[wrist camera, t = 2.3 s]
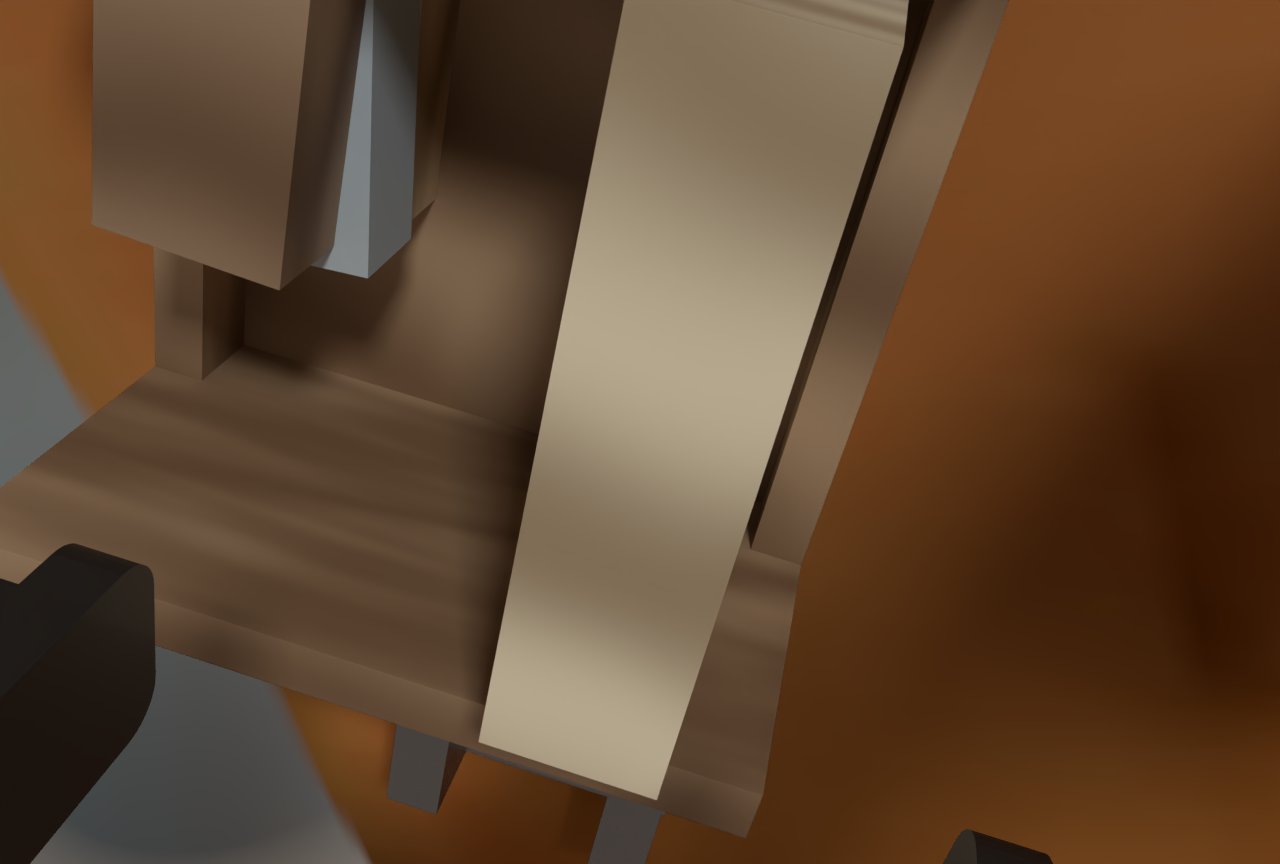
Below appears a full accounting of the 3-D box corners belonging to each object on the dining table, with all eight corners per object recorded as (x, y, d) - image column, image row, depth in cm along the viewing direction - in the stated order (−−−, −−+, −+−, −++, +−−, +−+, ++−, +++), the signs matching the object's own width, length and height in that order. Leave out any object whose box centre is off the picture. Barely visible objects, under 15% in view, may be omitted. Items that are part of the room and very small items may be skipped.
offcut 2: (221, -105, 22) (154, -91, 20) (423, -65, 21) (374, -48, 20) (234, 199, 25) (178, 234, 23) (410, 238, 24) (367, 278, 23)
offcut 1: (172, -95, 20) (93, -80, 18) (369, -29, 20) (310, -6, 18) (161, 185, 23) (92, 224, 21) (333, 245, 22) (278, 290, 21)
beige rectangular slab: (760, -120, 22) (629, -27, 12) (917, -79, 21) (904, 47, 12) (629, 414, 28) (478, 741, 19) (749, 451, 28) (656, 800, 19)
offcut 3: (282, -133, 23) (226, -124, 22) (470, -82, 23) (429, -68, 21) (270, 150, 27) (220, 180, 25) (435, 199, 26) (398, 232, 24)
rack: (234, -417, 22) (-202, -524, 14) (1065, -207, 21) (1154, -181, 12) (219, 354, 31) (-48, 579, 23) (799, 531, 30) (745, 838, 21)
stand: (460, 476, 31) (411, 552, 28) (746, 565, 31) (726, 651, 28) (423, 709, 36) (378, 795, 33) (671, 790, 36) (647, 884, 33)
